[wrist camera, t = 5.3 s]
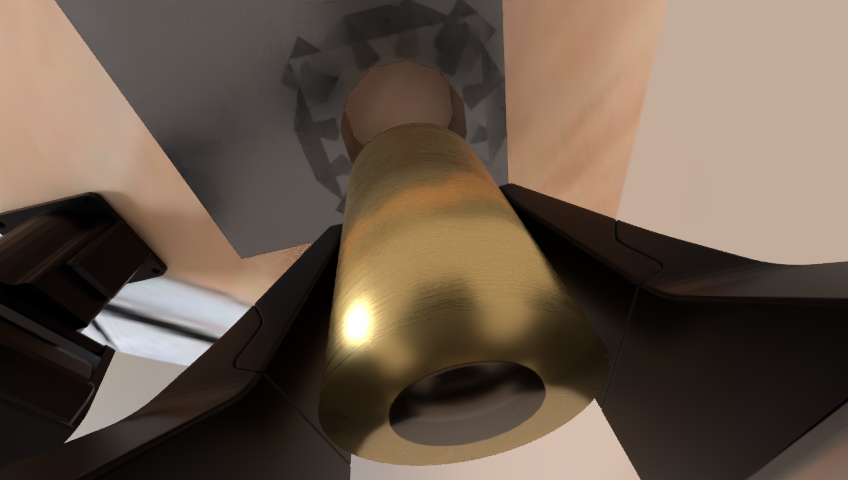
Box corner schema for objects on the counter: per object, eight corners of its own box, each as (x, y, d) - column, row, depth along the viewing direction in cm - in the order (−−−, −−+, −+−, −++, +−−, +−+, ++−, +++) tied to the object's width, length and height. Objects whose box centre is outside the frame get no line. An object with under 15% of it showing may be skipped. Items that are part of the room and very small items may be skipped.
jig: (258, 225, 22) (241, 259, 19) (42, -120, 12) (-58, -157, 9) (491, 171, 21) (509, 196, 19) (464, -228, 12) (492, -299, 9)
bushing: (371, 257, 12) (370, 487, 6) (327, 143, 9) (254, 366, 4) (487, 229, 12) (592, 437, 6) (476, 106, 9) (642, 275, 4)
